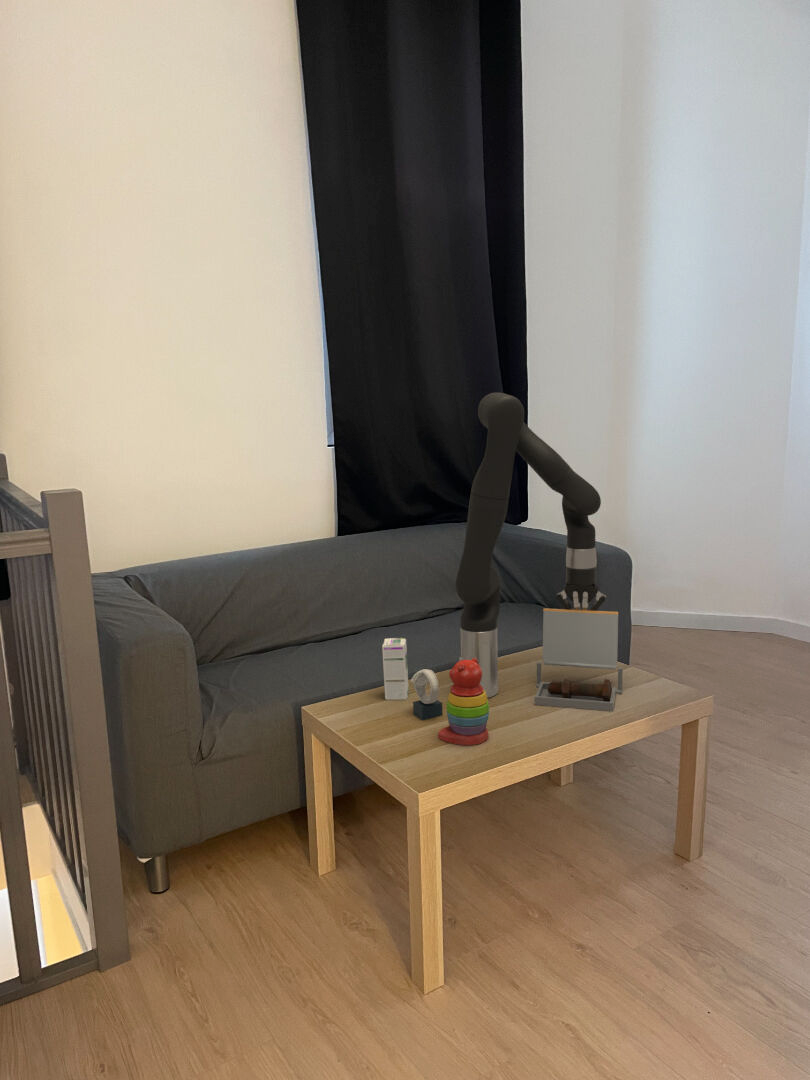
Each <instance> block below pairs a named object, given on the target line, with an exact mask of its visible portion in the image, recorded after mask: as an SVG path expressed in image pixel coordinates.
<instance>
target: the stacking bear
mask: <svg viewBox="0 0 810 1080" xmlns="http://www.w3.org/2000/svg"><path fill="white" fill-rule="evenodd" d="M448 675H449V678H450V681H451V682H452V683H453V685H452V686H451V687H450V689H449V690H450V691H449V692H448V699H447V702H446V715H447V720H448V726H445V727H443V728H441V729H440V730H439V731H438V734H437V737H438V739H439V740H440V741H443V742H447V743H450V744H455V745H461V746H474V745H479V744H482V743H484V742H486V741H487V740H489V736H490V734H489V731H488V729H487V726H488V725H487V724H488V720H489V715H490V706H489V705H490V704H489V700H488V698H487V695H486V692H485V690H484V689H483V687H482V686H481V685H480V681H481V678H482V670H481V667H480V666H479V665H478V660H477V659H476V658H473V659H472V660H461V661H459V660H458V661H457V662H456V663H455V664H454V666H453V667H452V668H451V669H450V670H449V673H448Z"/></svg>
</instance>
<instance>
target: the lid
mask: <svg viewBox="0 0 810 1080" xmlns="http://www.w3.org/2000/svg"><path fill="white" fill-rule="evenodd" d="M542 613H543V619H542V621H543V623H542V624H543V625H542V664H543V665H544V666H558V667H559V666H560V667H574V668H588V669H590V668H591V669H600V670H601V669H602V670H604V669H605V670H616V669H618V644H619V643H618V642H619V641H618V640H619V639H618V637H619V611H607V610H606V611H605V610H596V611H588V610H582V609H580V610H568V609H565V608H547V607H546V608H543V612H542Z"/></svg>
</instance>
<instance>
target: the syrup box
mask: <svg viewBox="0 0 810 1080" xmlns="http://www.w3.org/2000/svg"><path fill="white" fill-rule="evenodd" d="M381 647H382V668H383V685H384V686H383V689H384V698H385V699H384V700H386V701H388V700H390V701H399V700H401V701H404V700H408V696H409V692H410V689H409V687H410V686H409V670H408V651H407V648H408V647H407V638H404V637H392V638H391V637H390V638H384V641H383V642H382V646H381Z"/></svg>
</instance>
